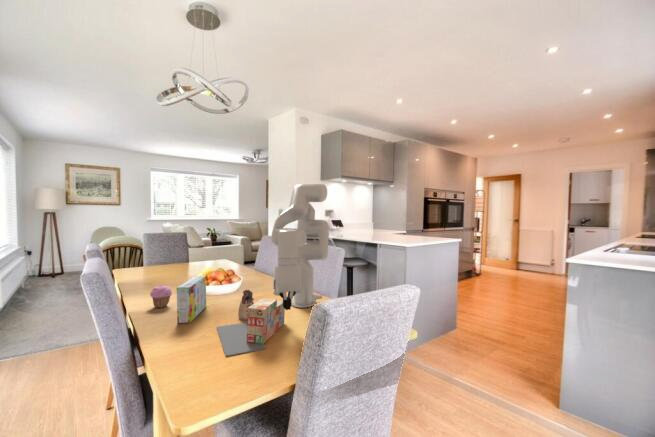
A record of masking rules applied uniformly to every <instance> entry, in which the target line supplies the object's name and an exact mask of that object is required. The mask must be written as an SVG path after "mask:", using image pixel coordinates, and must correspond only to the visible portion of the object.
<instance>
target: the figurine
mask: <svg viewBox="0 0 655 437" xmlns="http://www.w3.org/2000/svg"><path fill="white" fill-rule="evenodd" d="M242 294H243V295H242V297H241V301H240V303H239V307H238V319H239V320H242V321H247V317H248V307H250V306H251V305H253V304H255V302H254V301H255V298H253V294H254V293H253V292H252V291H251V290H250V289H245V290H243V291H242Z"/></svg>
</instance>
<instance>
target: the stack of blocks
mask: <svg viewBox="0 0 655 437" xmlns="http://www.w3.org/2000/svg"><path fill="white" fill-rule="evenodd" d="M285 311H286V309H285V308H284V307H283V300H278V299H275V298H266V297H265V298H263V297H262V298H260V299H259V300H257V301H256V302H254V304H253V305H251V306H250V307H248V317H247V320H246V322H247V343H256V344H263V345H264V344H265V343H266V342H267V341H268V340H269V339H270V338H272V336H273V335H274V334H275V333H276V332H277V331H278V329H280V328H281V327H282V326H283V325H284V324H285V315H286V314H285Z"/></svg>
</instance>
